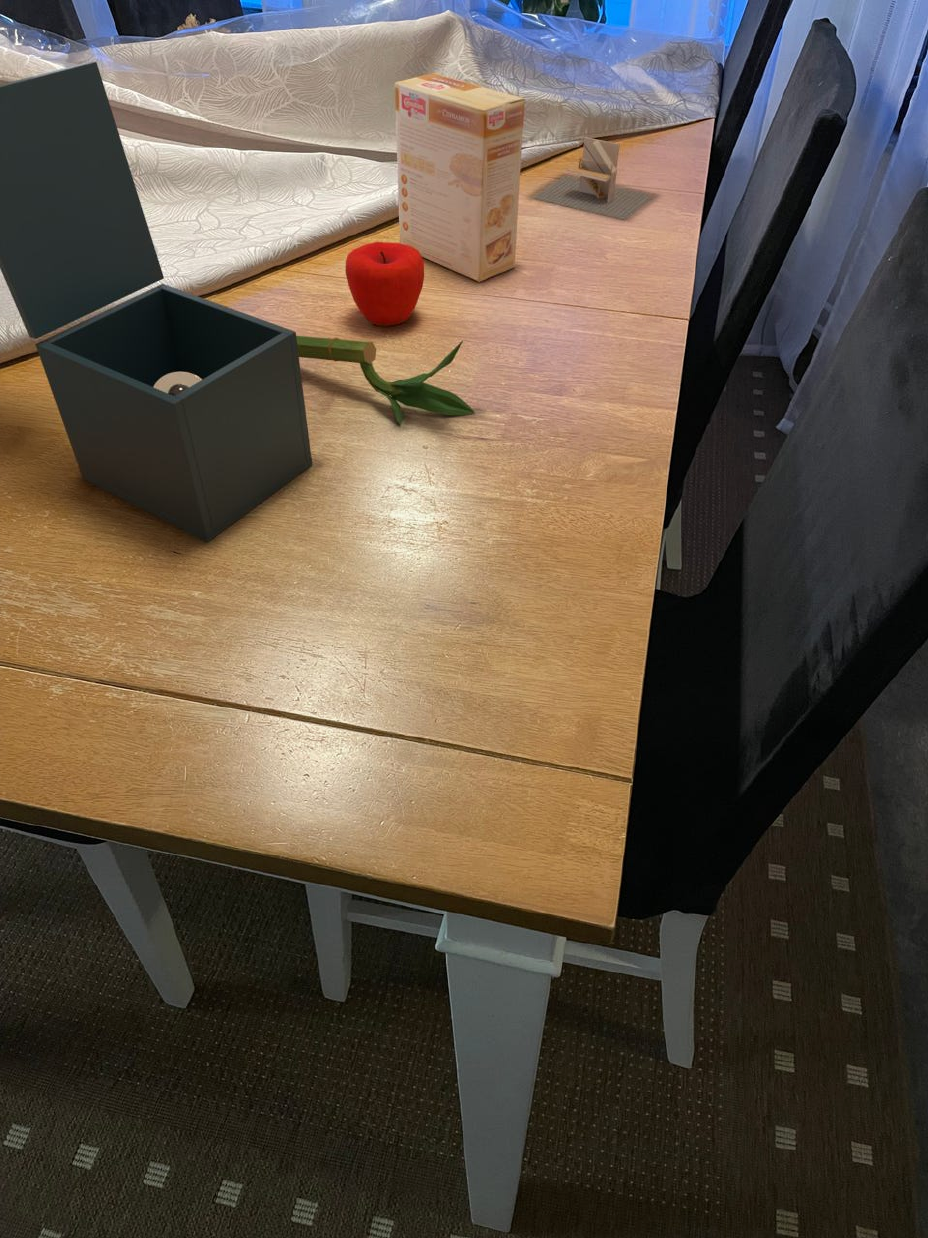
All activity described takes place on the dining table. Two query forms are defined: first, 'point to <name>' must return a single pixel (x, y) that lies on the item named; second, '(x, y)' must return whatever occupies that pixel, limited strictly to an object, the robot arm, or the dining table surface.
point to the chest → (181, 407)
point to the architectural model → (595, 184)
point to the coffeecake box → (459, 173)
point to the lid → (67, 201)
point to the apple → (385, 281)
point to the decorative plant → (402, 390)
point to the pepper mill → (176, 382)
